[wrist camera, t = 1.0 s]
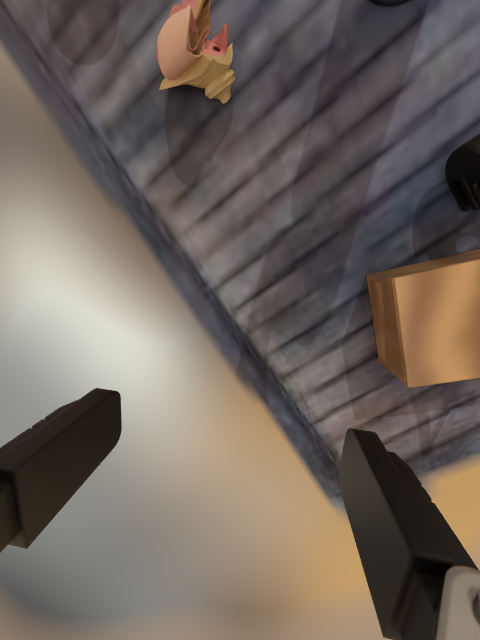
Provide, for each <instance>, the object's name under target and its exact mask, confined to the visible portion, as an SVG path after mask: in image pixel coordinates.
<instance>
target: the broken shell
mask: <svg viewBox="0 0 480 640" xmlns="http://www.w3.org/2000/svg"><path fill="white" fill-rule="evenodd" d="M211 1H212V0H183V1H182V6H180V5H179V4H174V5H173V7H172V9H171V12H170V14H169V17H168V20H167V21H166V22H165V24H164V25H163V27H162V29H161V31H160V34H159V36H158V39H157V60H158V62H159V65H160V69H161V71H162V74H163V75H164V77H165V79H164V80H163V81H162V83H161V86H160V88H159V90H162V89H166V88H171V87H176V86H180V85H185V84H187V85H191V86H195V87H199V88H205V95H206V96H207V97H208V98H209V99H218V100H220V101H221V102H222V104H224V103H226V102H227V101H228V100H229V99H230V97H231V92H230V90H231V86H232V84H233V82H234V80H235V78H234V72H233V71H232V70H231V69H230V66H231V63H232V58H233V50H232V44H233V43H232V44H231V45H229V46H228V47H227V37H228V23H226V24H224V27H223V29H222V30H221V31H220V32H219V33H218V34H217V35H216V36H215V37H214V38H213V39H212V40H211V41H210V40H207V39H205V38H206V37H207V35H209V34H210V4H211Z"/></svg>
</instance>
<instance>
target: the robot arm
mask: <svg viewBox="0 0 480 640" xmlns="http://www.w3.org/2000/svg"><path fill="white" fill-rule="evenodd" d="M371 1H373V2H375V3H378V4H382V5H396V4H400V3H403V2H406V1H408V0H371ZM121 428H122V427H121V398H120V394H119V392H117V391H112V390H105V389H99V388H96V389H94V390H92V391H90V392H89V393H88V394H86V395H85V396H83V397H82V398H81V399H79V400H76V401H74V402H72V403H69V404H67V405H65V406H62V407H60V408H58V409H57V410H55V411H54V412H53V413H51V414H50V415H48V416H47V417H45V419H44V420H41V421H39V422H38V423H36V424H35V425H33V426H32V428H31V429H30V428H29V429H27V430H26V431H25V432H23V433H21V434H20V435H18V436H17V437H16V438H14V439H13V440H11V441H10V442H8V443H7V444H5V445H4V446H2V447H1V448H0V552H1V551H2V550H3V549H4V548H5V547H6V546H7V545H8V544H9V545H14V546H18V547H22V548H26V549H27V548H28V547H29V546H30V545H31V543H32V542H33V541H34V540H35V539H36V538H37V536H38V535H39V534H40V533H41V532H42V531H43V529H44V528H45V527H46V526H47V525H48V524H49V522H50V521H51V520H52V519H53V518H54V517H55V516H56V514H57V513H58V512H59V511H60V510H61V509H62V507H63V506H64V505H65V504H66V503H67V501H68V500H69V499H70V498H71V497H72V496H73V495H74V493H75V492H76V491H77V490H78V489H79V487H80V486H81V485H82V484H83V483H84V482H85V481H86V480H87V478H88V477H89V476H90V475H91V474H92V473H93V471H94V470H95V469H96V468H97V467H98V466H99V465H100V463H101V462H102V461H103V460H104V459H105V458H106V456H107V455H108V454H109V453H110V452H111V450H112V449H113V448H114V447H115V446H116V444H117V442H118V440H119V438H120V435H121ZM339 486H340V491H341V494H342V497H343V501H344V504H345V508H346V511H347V515H348V518H349V521H350V525H351V528H352V531H353V535H354V538H355V542H356V545H357V548H358V552H359V555H360V559H361V562H362V566H363V569H364V572H365V576H366V579H367V583H368V586H369V590H370V593H371V597H372V600H373V603H374V607H375V610H376V614H377V617H378V620H379V624H380V627H381V631H382V634H383V637H385V638H389V639H393V640H480V571H479V570H478V568H477V567H476V565H475V564H474V562H473V561H472V559H471V558H470V556H469V555H468V553H467V552H466V550H465V549H464V547H463V546H462V544H461V543H460V541H459V540H458V538H457V537H456V535H455V534H454V532H453V531H452V529H451V528H450V526H449V525H448V523H447V522H446V520H445V519H444V517H443V516H442V514H441V513H440V511H439V510H438V508H437V507H436V505H435V504H434V503H432V501H431V498H430V496H429V495H428V493H427V492H426V490H425V489H424V488H423V487H422V486H421V483H420V481H419V480H418V478H417V477H416V475H415V474H414V472H413V471H412V469H411V468H410V467H409V466H408V465H407V464H406V463H405V462H404V461H403V460H402V459H401V458H400V457H398V456H397V455H396V454H395V453H394V452H389V451H387V450H386V449H385V447H384V445H383V444H382V442H381V440H380V439H379V437H378V435H377V434H376V433H375V432H371V431H364V430H358V429H352V428H350V429H348V431H347V433H346V438H345V442H344V447H343V451H342V456H341V460H340V465H339Z"/></svg>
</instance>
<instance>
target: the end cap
mask: <svg viewBox="0 0 480 640" xmlns="http://www.w3.org/2000/svg"><path fill="white" fill-rule="evenodd" d="M445 173H446V179H447V182H448V184H449V187H450V189H451V191H452V193H453V195H454V197H455V199H456V201H457V203H458V205H459V207H460V209H461V210H462V211H469V210H472V209H473V210H478V209H480V134H479V135H477V136H476V137H474V138H473V139H471V140H469V141H468V142H466V143H465V144H463V145H462V146H460V147H459V148H457V149H456V150H455V151H453V152H452V154H451V155H450V156H449V158H448V160H447V163H446V168H445Z"/></svg>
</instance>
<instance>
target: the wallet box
mask: <svg viewBox="0 0 480 640" xmlns="http://www.w3.org/2000/svg"><path fill="white" fill-rule="evenodd" d="M479 258H480V249H478V250H474V251H469V252H465V253H461V254H456V255H452V256H447V257H443V258H439V259H434V260H430V261H425V262H421V263H416V264H412V265H408V266H403V267H399V268H394V269H390V270H386V271H381V272H377V273H372V274H368V275H366V277H367V284H368V291H369V298H370V304H371V311H372V318H373V325H374V332H375V339H376V346H377V353H378V360H379V361H380V362H381V363H382V364H383V365H384V366H385V367H386V368H387V369H388V370H389V371H390V372H392V373H393V374H394V375H395V376H396V377H397V378H398V379H399V380H400V381H401V382H402V383H404V384H405V381H404V373H403V366H402V358H401V350H400V342H399V334H398V326H397V318H396V310H395V302H394V294H393V286H392V278H393V277H398V276H402V275H407V274H411V273H416V272H420V271H425V270H429V269H434V268H438V267H443V266H448V265H452V264H457V263H461V262H466V261H470V260H475V259H479Z"/></svg>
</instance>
